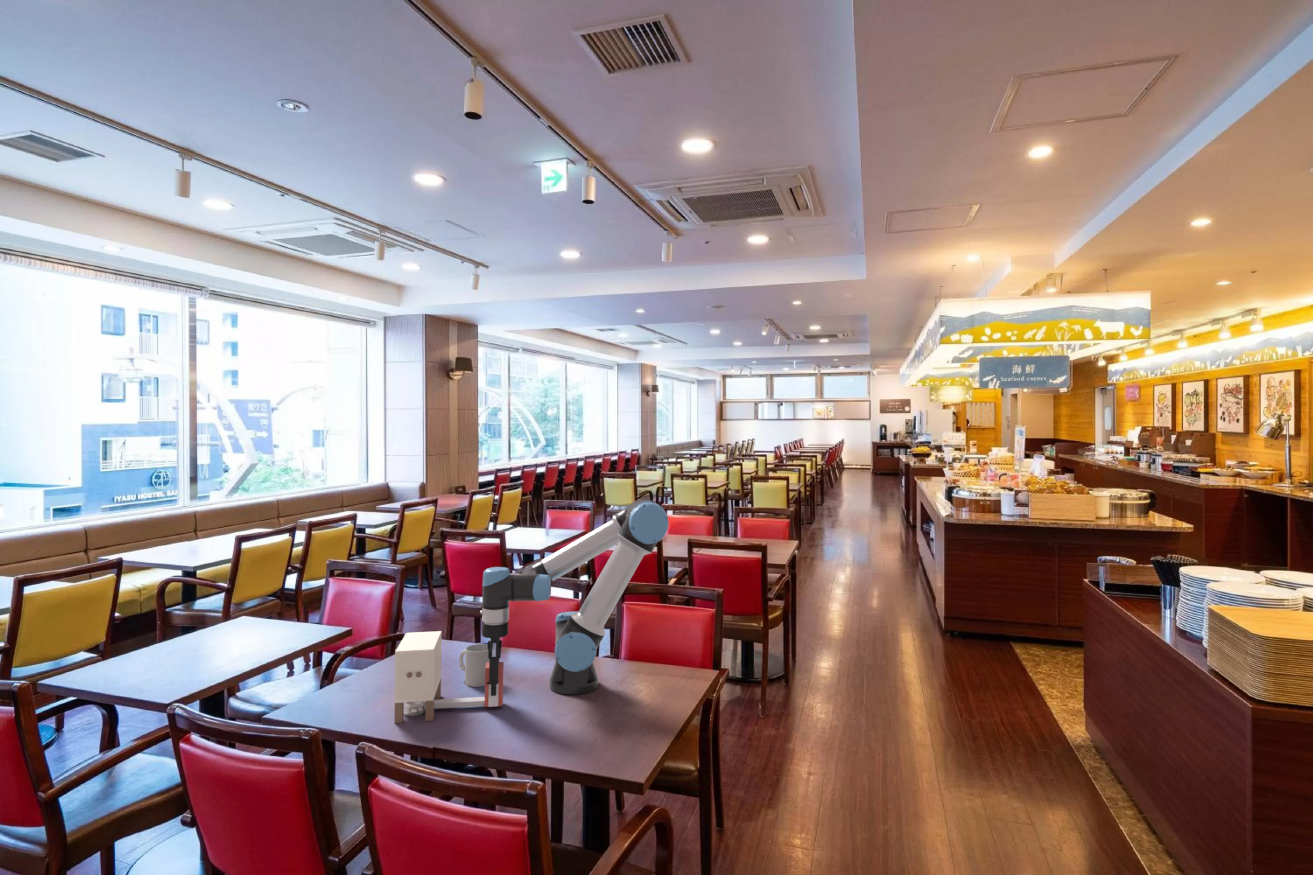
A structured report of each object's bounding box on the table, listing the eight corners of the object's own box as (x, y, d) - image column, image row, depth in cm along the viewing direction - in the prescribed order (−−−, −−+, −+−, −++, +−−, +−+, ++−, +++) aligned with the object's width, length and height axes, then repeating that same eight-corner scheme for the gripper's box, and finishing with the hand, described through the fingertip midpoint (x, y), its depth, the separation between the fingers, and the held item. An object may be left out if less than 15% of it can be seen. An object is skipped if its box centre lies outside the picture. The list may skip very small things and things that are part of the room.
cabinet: (440, 695, 200) (441, 630, 200) (432, 722, 181) (433, 650, 182) (405, 698, 198) (406, 632, 199) (393, 725, 179) (394, 652, 180)
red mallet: (502, 699, 196) (503, 661, 196) (502, 705, 191) (503, 667, 191) (426, 703, 191) (427, 665, 192) (423, 710, 187) (424, 671, 187)
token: (426, 707, 192) (426, 699, 192) (423, 716, 186) (423, 707, 186) (404, 709, 191) (404, 700, 191) (400, 717, 185) (400, 709, 185)
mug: (497, 679, 214) (498, 645, 214) (480, 688, 206) (480, 653, 207) (468, 674, 219) (469, 640, 219) (450, 682, 212) (450, 647, 212)
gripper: (483, 614, 201) (482, 691, 201) (479, 630, 183) (478, 715, 183) (509, 613, 203) (507, 689, 202) (507, 629, 185) (506, 713, 185)
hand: (493, 701), depth 193 cm, fingers closed on red mallet, 5 cm apart
